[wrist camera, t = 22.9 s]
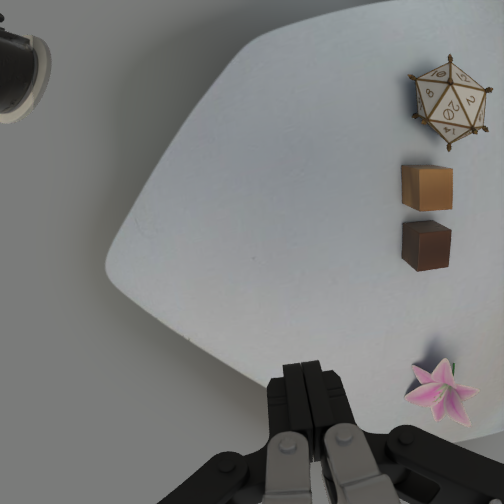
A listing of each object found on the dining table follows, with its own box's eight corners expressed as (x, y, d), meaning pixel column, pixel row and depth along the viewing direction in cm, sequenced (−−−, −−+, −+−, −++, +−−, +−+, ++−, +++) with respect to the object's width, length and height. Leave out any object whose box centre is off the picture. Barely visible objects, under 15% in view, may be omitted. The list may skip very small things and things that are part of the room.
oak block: (401, 165, 29) (419, 169, 25) (432, 164, 29) (452, 168, 25) (402, 203, 30) (419, 211, 27) (433, 201, 30) (452, 209, 26)
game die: (422, 123, 31) (461, 184, 25) (376, 81, 27) (417, 139, 21) (472, 78, 25) (523, 132, 19) (432, 27, 21) (492, 73, 15)
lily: (435, 321, 36) (431, 375, 29) (497, 350, 33) (500, 404, 26) (395, 371, 43) (382, 421, 36) (452, 395, 40) (446, 444, 33)
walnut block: (402, 222, 31) (419, 233, 27) (433, 220, 31) (451, 229, 27) (401, 258, 32) (417, 272, 29) (431, 254, 32) (448, 267, 28)
